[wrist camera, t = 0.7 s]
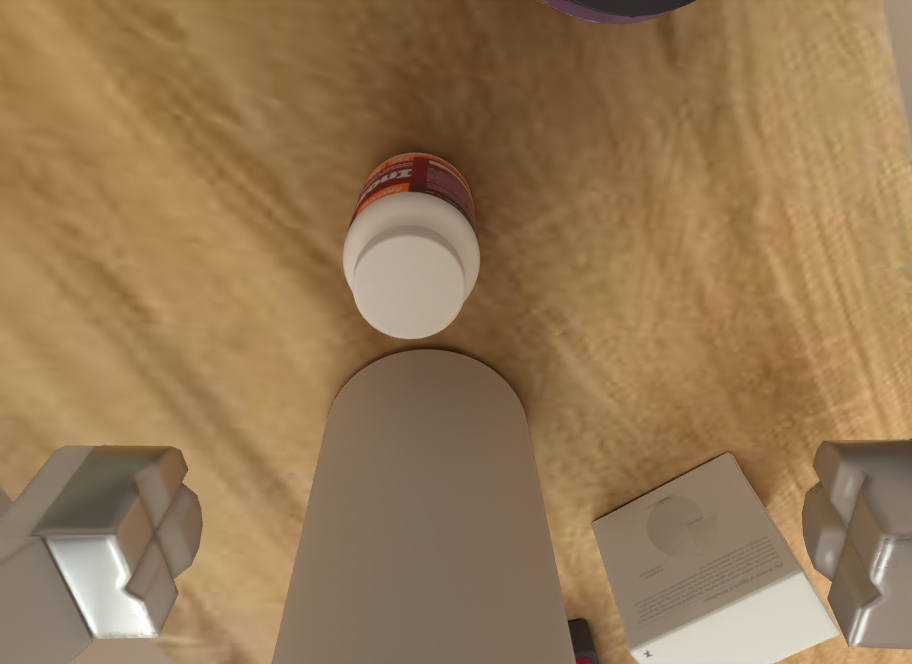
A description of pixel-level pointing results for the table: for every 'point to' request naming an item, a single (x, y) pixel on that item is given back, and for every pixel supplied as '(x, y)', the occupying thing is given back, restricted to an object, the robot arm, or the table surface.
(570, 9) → the jar
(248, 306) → the table surface
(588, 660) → the calculator
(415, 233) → the pill bottle
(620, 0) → the jar lid
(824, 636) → the cosmetics box
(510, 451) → the cylinder vase
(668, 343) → the table surface
